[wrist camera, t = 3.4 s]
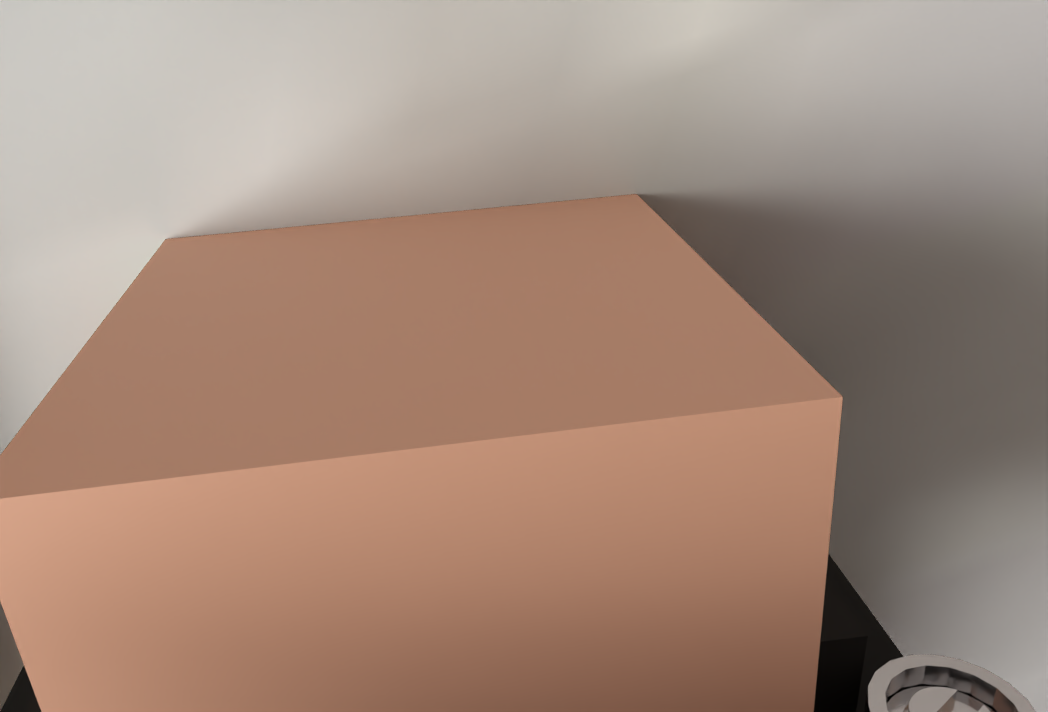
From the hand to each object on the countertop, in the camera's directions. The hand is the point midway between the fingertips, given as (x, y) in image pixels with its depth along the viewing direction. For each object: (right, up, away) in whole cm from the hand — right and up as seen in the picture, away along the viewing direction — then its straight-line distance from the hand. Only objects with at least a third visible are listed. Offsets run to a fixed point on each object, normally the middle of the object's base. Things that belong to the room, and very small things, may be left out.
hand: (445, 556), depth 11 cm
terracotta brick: (0, 0, 0) cm, 1 cm away
